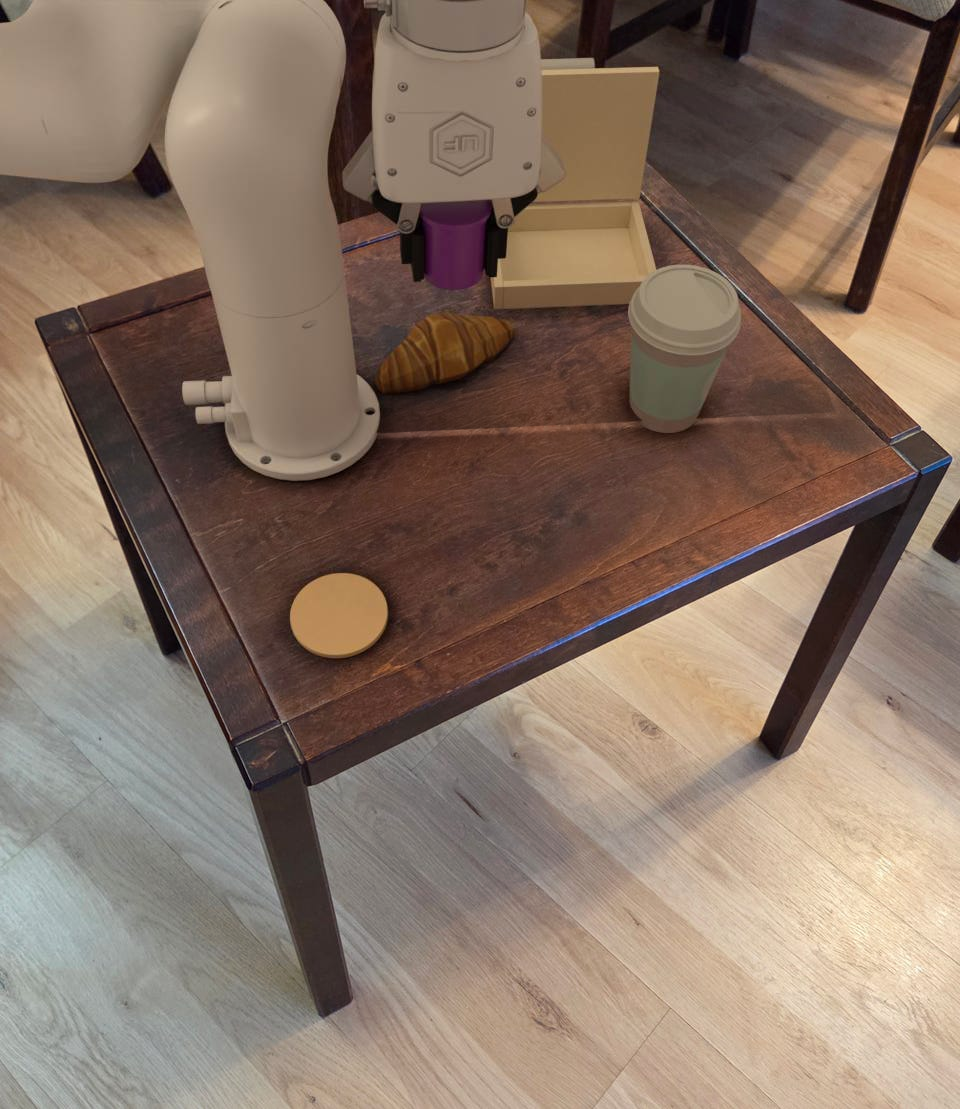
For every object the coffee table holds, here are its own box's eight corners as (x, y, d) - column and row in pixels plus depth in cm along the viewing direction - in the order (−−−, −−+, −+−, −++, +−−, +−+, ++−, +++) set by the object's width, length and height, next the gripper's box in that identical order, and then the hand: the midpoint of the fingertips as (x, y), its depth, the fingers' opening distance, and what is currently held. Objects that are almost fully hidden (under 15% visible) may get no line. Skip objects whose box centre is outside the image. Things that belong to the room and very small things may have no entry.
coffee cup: (711, 453, 86) (742, 343, 76) (606, 436, 87) (624, 326, 77) (718, 380, 91) (749, 267, 81) (619, 365, 92) (638, 252, 82)
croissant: (490, 316, 95) (492, 272, 91) (532, 362, 92) (535, 317, 88) (357, 371, 91) (352, 327, 87) (396, 421, 87) (392, 377, 83)
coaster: (289, 661, 74) (288, 657, 74) (292, 579, 78) (291, 575, 78) (389, 655, 74) (388, 652, 74) (387, 574, 78) (386, 570, 78)
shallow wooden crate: (654, 309, 96) (659, 280, 93) (493, 315, 95) (494, 287, 92) (633, 229, 102) (638, 199, 100) (484, 234, 102) (484, 205, 99)
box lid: (659, 71, 89) (648, 36, 92) (487, 76, 88) (482, 41, 92) (639, 198, 99) (630, 163, 102) (485, 203, 98) (480, 168, 102)
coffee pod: (420, 295, 71) (419, 228, 67) (413, 248, 74) (412, 180, 70) (493, 291, 72) (497, 223, 68) (483, 244, 75) (487, 176, 70)
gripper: (306, 42, 55) (333, 311, 70) (621, 31, 57) (582, 295, 72) (301, -29, 59) (327, 239, 74) (594, -37, 61) (562, 226, 76)
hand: (452, 264), depth 73 cm, fingers closed on coffee pod, 4 cm apart
